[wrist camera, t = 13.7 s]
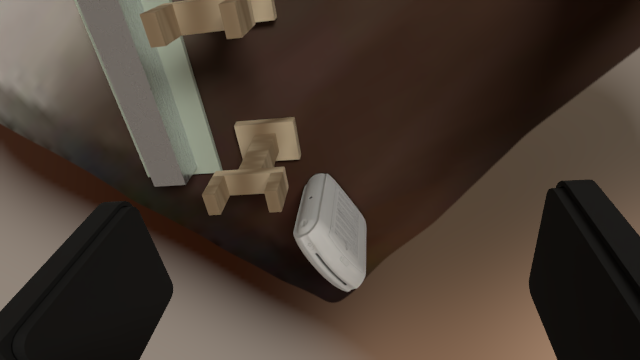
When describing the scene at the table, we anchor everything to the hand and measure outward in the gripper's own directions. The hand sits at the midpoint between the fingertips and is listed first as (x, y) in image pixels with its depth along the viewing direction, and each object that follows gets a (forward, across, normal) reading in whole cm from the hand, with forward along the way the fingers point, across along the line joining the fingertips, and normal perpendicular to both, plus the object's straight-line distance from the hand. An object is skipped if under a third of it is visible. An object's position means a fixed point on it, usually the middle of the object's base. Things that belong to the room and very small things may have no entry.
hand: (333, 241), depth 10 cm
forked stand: (+36, +12, +7) cm, 38 cm away
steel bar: (+35, +24, +7) cm, 43 cm away
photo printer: (+36, +5, +25) cm, 44 cm away
